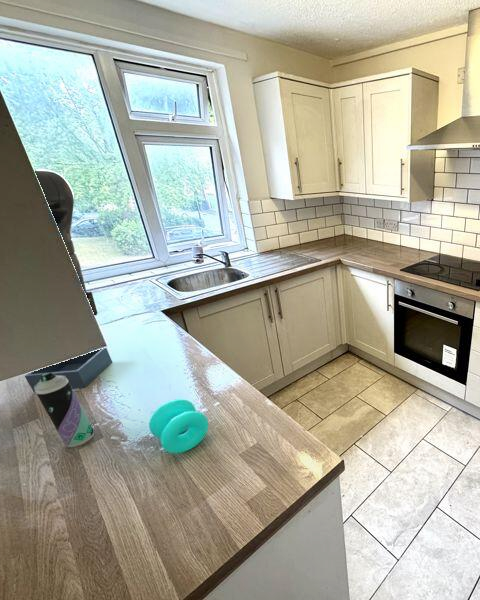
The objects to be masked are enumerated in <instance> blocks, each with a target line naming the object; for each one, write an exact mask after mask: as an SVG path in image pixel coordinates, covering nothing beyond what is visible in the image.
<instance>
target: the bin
mask: <svg viewBox="0 0 480 600" xmlns="http://www.w3.org/2000/svg"><path fill="white" fill-rule="evenodd" d="M102 348H103V349H100V350H97V351H94V352H91V353H88V354H86V355H83V356H79V357H77V358H74V359H70V360H68V361H65V362H61V363H59V364H56V365H52V366H49V367H46V368H43V369H40V370H38V371H34V372H31V371H30V372H31V373H30V372H28V373H27V374H26V375H24V378H25V380H26V381H27V384H28V385H29V387H30V388H31V390H32V392H33V393H36V392H35V389H34V386H35V385H36V384H37V383H38V382H40V379H41V378H42V377H41V374H43V373H49V372H51V373H52V374H54V375H57V376H58V375H63V376H66V378H67V379H68V381H69V383H70V385H71V387H72V389H73V390H74V389H82V388H87V386H89V384H91V383H92V382H93V381H94V380H95V379H96V378H97V377H98V376H99V375H100V374H101V373H103V371H105V370H106V369H107V368H108V367H109V366H110V365H111V364H112V363H113V360H112V358H111V355H110V353H109V351H108V348H107V347H106V348H104V347H102Z"/></svg>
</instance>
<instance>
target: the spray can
mask: <svg viewBox="0 0 480 600" xmlns="http://www.w3.org/2000/svg"><path fill="white" fill-rule="evenodd" d="M41 377H42V378H41V379H40V382H38V383H37V384H36V385H35V386H34V389H35V392H34V393H35V394H36V396H37V397H38V400H39V401H40V403H41V404H42V406H43V408H44V410H45V412H46V414H47V415H48V417H49V419H50V421H51V423H52V424H53V426H54V428H55V430H56V431H57V433H58V435H59V436H60V438H61V440H62V442H63V443H64V445H65V447H67V448H76V447H80V446H83V445H84V444H86V443H88V442H89V441H90V440H92V439H93V437H94V436H95V430H94V429H93V426H92V425H91V423H90V420H89V418H88V417H87V414H86V413H85V411H84V408H83V407H82V405H81V402H80V401H79V399H78V397H77V394H76V393H75V390H74V389H72V387H71V385H70V383H69V381H68V379H67V378H66V376H63V375H58V376H57V375H54V374H52V373H51V372H49V373H43V374H41Z"/></svg>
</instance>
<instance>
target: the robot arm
mask: <svg viewBox="0 0 480 600" xmlns="http://www.w3.org/2000/svg"><path fill="white" fill-rule="evenodd" d="M34 170H35V173H36V175H37V178H38V180H39V182H40V185H41V187H42V189H43V192H44V194H45V197H46V200H47V202H48V204H49V207H50V209H51V211H52V214H53V216H54V218H55V221H56V223H57V226H58V228H59V231H60V233H61V235H62V237H63V240H64V242H65V245H66V247H67V250H68V252H69V255H70V257H71V259H72V262H73V264H74V266H75V269H76V271H77V274H78V276H79V279H80V282H81V284H82V287H83V289H84V291H85V293H86V295H87V298H88V300H89V302H90V305H91V307H92V310H93V312H94V315H95V316H98V309H97V307H96V303H95V299H94V296H93V292H92V291H87V289H86V285H85V280H84V276H83V272H82V268H81V264H80V261H79V259H78V256H77V253H76V250H75V245H74V242H73V237H72V233H71V231H72V224H73V216H74V206H75V196H74V191H73V188H72V187H71V185H70V183H69V181H67V180H66V179H65V177H64V176H63V175H61V174H59V173H57V172H55V171H53V170H46V169H34Z"/></svg>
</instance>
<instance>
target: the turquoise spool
mask: <svg viewBox="0 0 480 600" xmlns="http://www.w3.org/2000/svg"><path fill="white" fill-rule="evenodd" d="M148 425H149V426H148V427H149V431H150V433H151V435H153V436H154V437H156V438H158V439H160V444H161V447H162V448H163V450H165V451H166V452H168V453H171V454H181V453H185V452H188V451H191V450H192V449H193V448H195V447H196V446H198V444H200V443H201V442H202V441H203V439H204V438H205V436H206V434H207V433H208V430H209V420H208V418H207V417H206V415H205V414H204V413H202V412H200V411H196V407H195V405H194V404H193V403H192V402H191V401H189V400H188V399H184V398H178V399H172V400H169V401H167V402H164V403H163V404H161V405H160V406H159V407H158V408H157V409H156V410H155V411H154V412H153V413H152V415H151V417H150V420H149V422H148Z"/></svg>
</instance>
